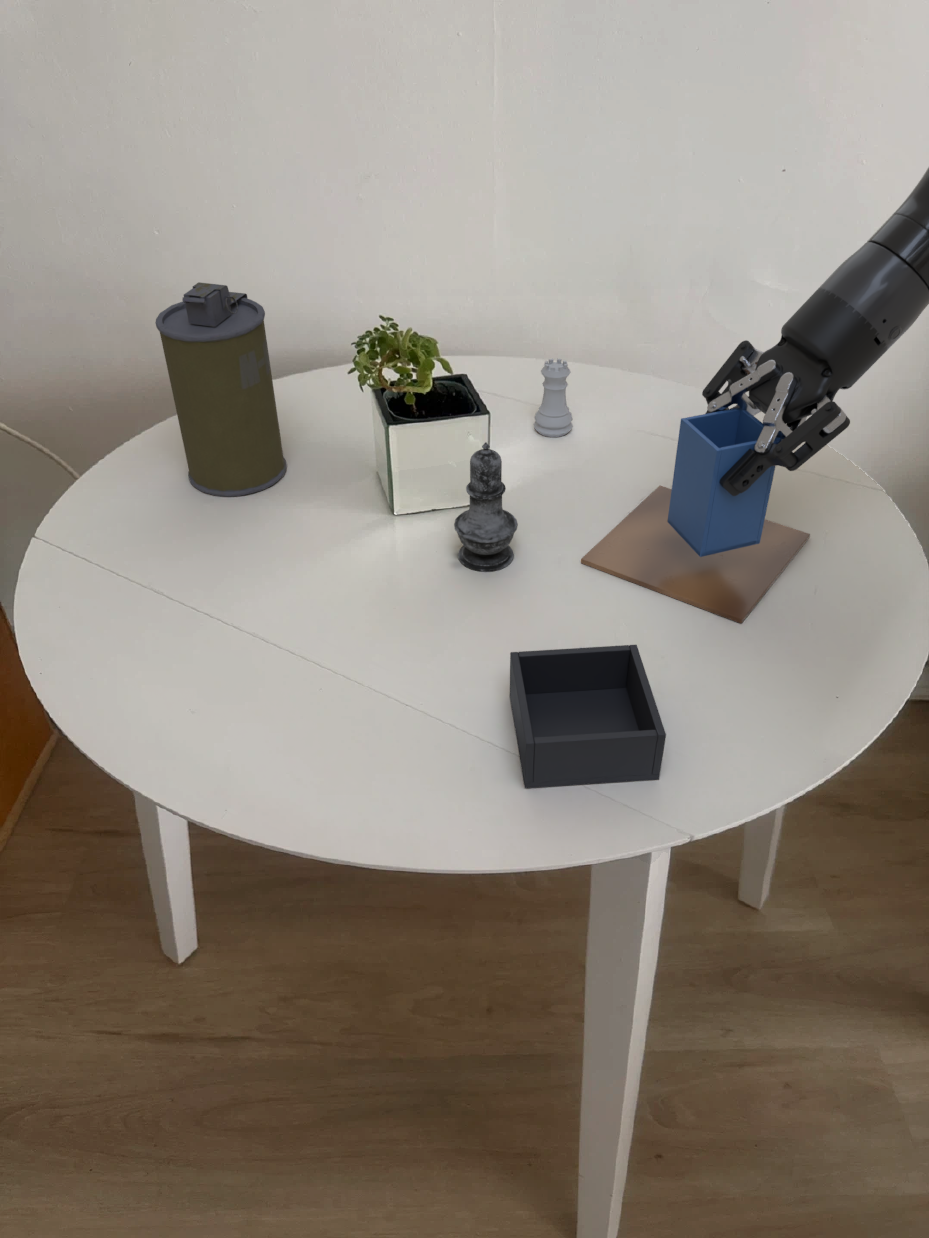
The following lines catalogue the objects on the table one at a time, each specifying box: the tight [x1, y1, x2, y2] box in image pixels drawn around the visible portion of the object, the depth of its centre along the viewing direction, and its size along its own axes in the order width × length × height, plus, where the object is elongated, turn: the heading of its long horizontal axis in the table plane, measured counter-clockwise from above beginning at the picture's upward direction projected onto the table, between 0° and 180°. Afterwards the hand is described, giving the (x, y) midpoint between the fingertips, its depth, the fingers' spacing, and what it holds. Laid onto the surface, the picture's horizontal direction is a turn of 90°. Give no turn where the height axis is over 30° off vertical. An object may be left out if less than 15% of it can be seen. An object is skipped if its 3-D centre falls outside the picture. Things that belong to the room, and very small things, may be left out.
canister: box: [155, 282, 288, 497], centre depth 101 cm, size 11×10×20 cm
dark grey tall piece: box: [453, 442, 519, 573], centre depth 91 cm, size 6×6×12 cm
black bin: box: [509, 644, 667, 789], centre depth 74 cm, size 10×10×5 cm
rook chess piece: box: [533, 358, 574, 438], centre depth 111 cm, size 4×4×8 cm
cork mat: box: [580, 485, 811, 625], centre depth 94 cm, size 16×16×1 cm
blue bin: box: [667, 408, 781, 557], centre depth 87 cm, size 6×6×10 cm
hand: (706, 470), depth 85 cm, fingers closed on blue bin, 6 cm apart
